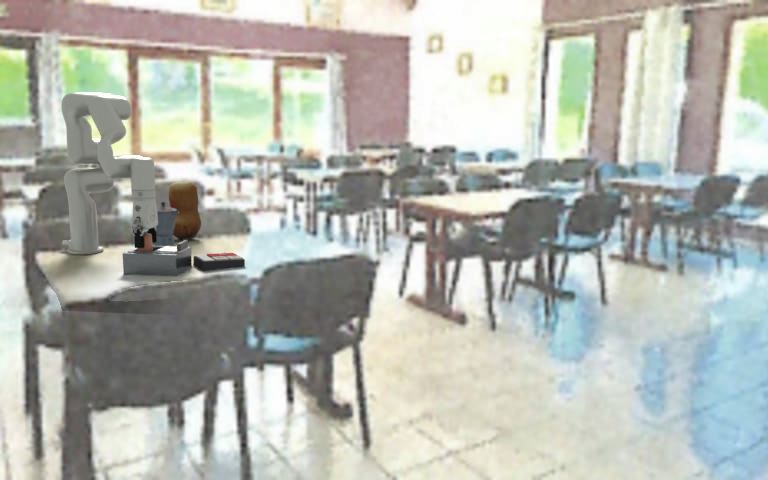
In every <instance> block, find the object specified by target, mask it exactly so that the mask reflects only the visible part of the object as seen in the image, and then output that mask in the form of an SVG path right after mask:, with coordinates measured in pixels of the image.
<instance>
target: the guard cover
mask: <svg viewBox="0 0 768 480" xmlns="http://www.w3.org/2000/svg"><path fill="white" fill-rule="evenodd" d="M189 247H190V246H189V240H182V241H180V242H178V243H177V244H176V245H175V246H165V247H163V248H161V249H159V250H157V251H156V252H171V253H181V252H183V251H185V250H186V249H188V248H189Z"/></svg>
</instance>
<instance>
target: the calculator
mask: <svg viewBox="0 0 768 480" xmlns="http://www.w3.org/2000/svg"><path fill="white" fill-rule="evenodd" d="M245 261H246V259H244V257H242V256H240V255H238V254H236V253H234V252H224V253H206V254H195V255H193V265H192V266H194V267H195V268H197V269H199V270H201V271H202V272H210V271H211V272H212V271H216V270H227V269H235V268H245V267H246V265H245V264H246V262H245Z"/></svg>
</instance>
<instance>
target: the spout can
mask: <svg viewBox="0 0 768 480" xmlns="http://www.w3.org/2000/svg"><path fill="white" fill-rule="evenodd" d="M143 236H144V242H145V247H144V248H137V251H142V252H153V244H152V234H149V233H147V231H144V233H143ZM133 239H134V235H133Z"/></svg>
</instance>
